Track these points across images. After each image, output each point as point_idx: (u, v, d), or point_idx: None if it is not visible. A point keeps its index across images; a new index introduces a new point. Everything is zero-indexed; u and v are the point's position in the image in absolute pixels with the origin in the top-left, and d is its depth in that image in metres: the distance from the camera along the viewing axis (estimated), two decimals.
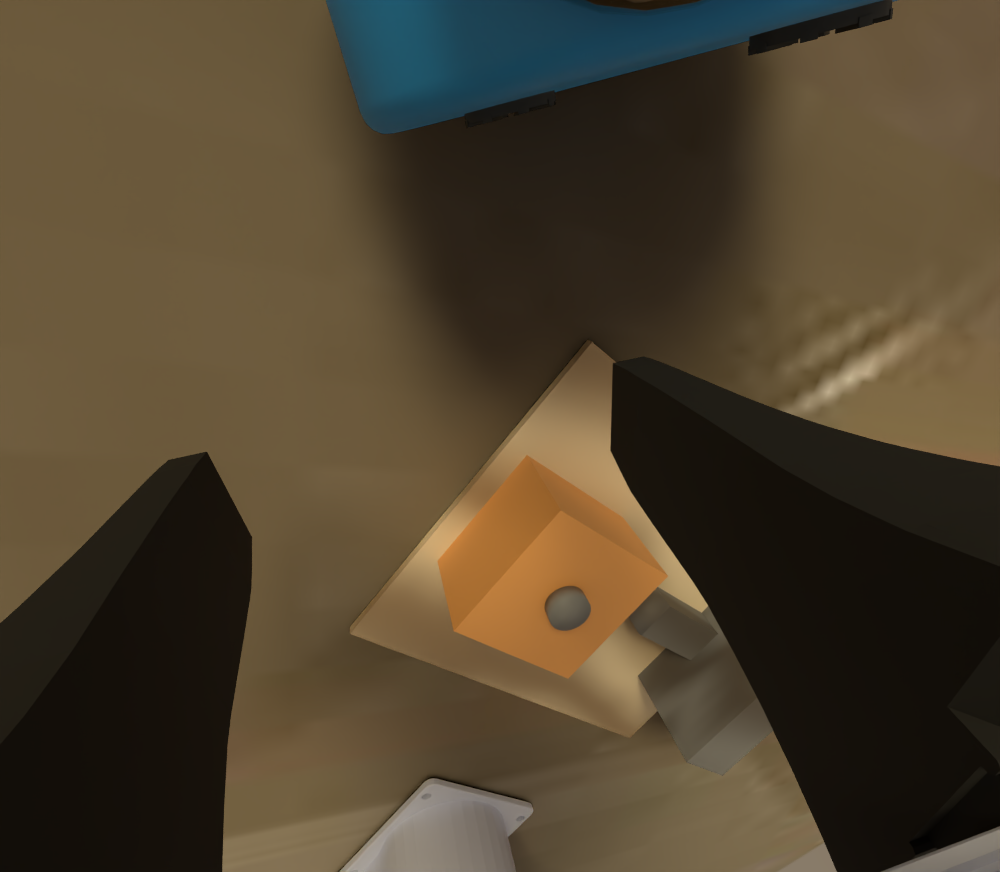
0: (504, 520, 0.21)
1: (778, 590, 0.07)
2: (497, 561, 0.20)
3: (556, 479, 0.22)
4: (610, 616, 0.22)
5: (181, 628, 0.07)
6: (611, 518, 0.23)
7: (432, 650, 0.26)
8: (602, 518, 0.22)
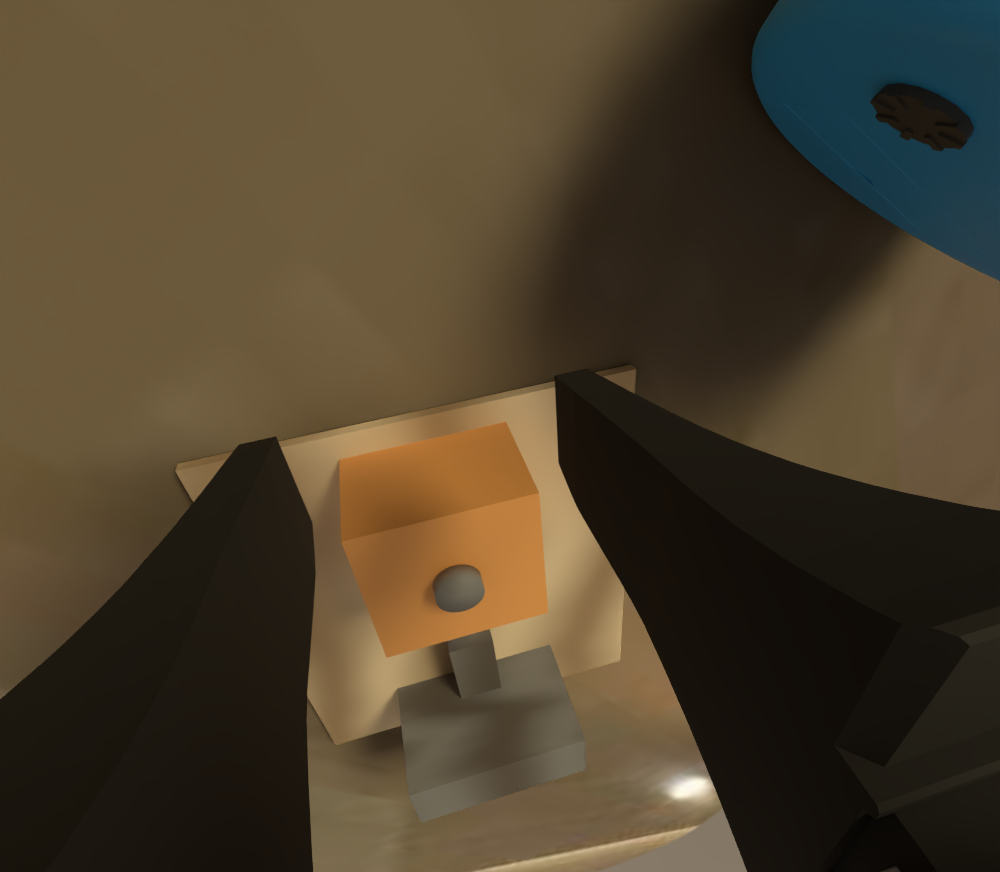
0: (456, 466, 0.18)
1: (697, 614, 0.07)
2: (433, 500, 0.17)
3: None
4: (475, 619, 0.20)
5: (268, 605, 0.07)
6: None
7: None
8: None
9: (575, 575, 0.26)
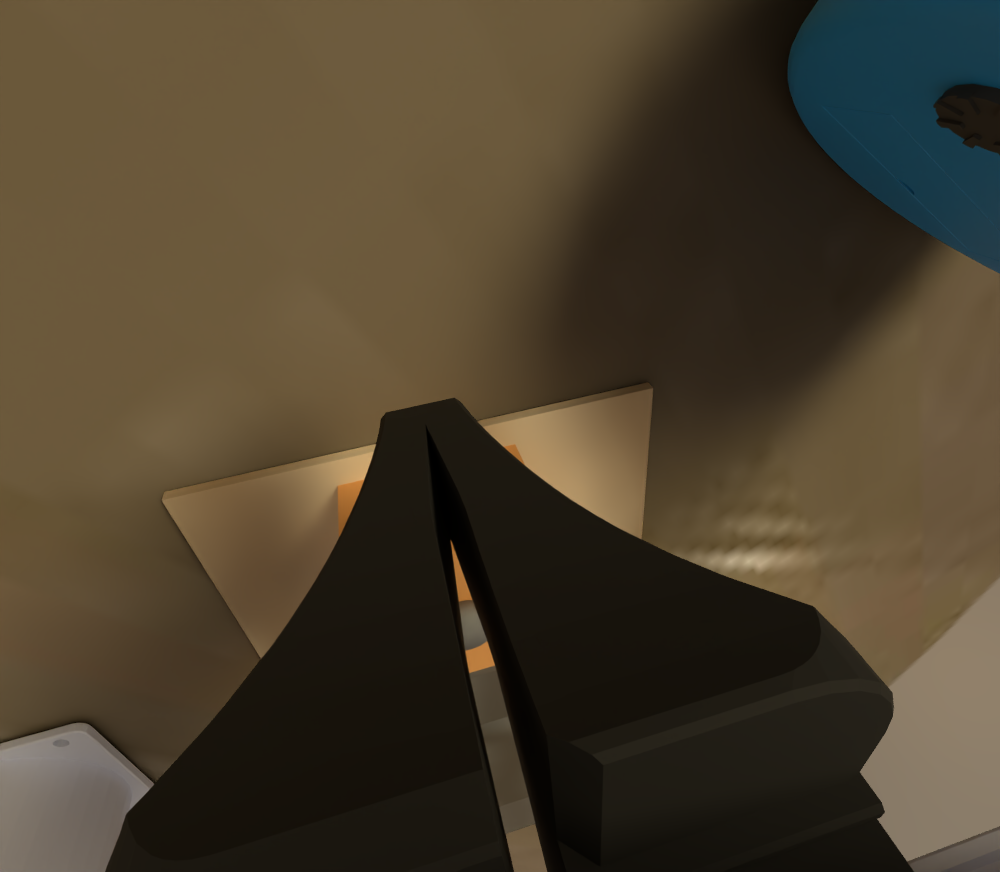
0: None
1: (503, 670, 0.06)
2: None
3: None
4: (483, 655, 0.19)
5: (445, 559, 0.08)
6: None
7: (236, 578, 0.19)
8: None
9: None
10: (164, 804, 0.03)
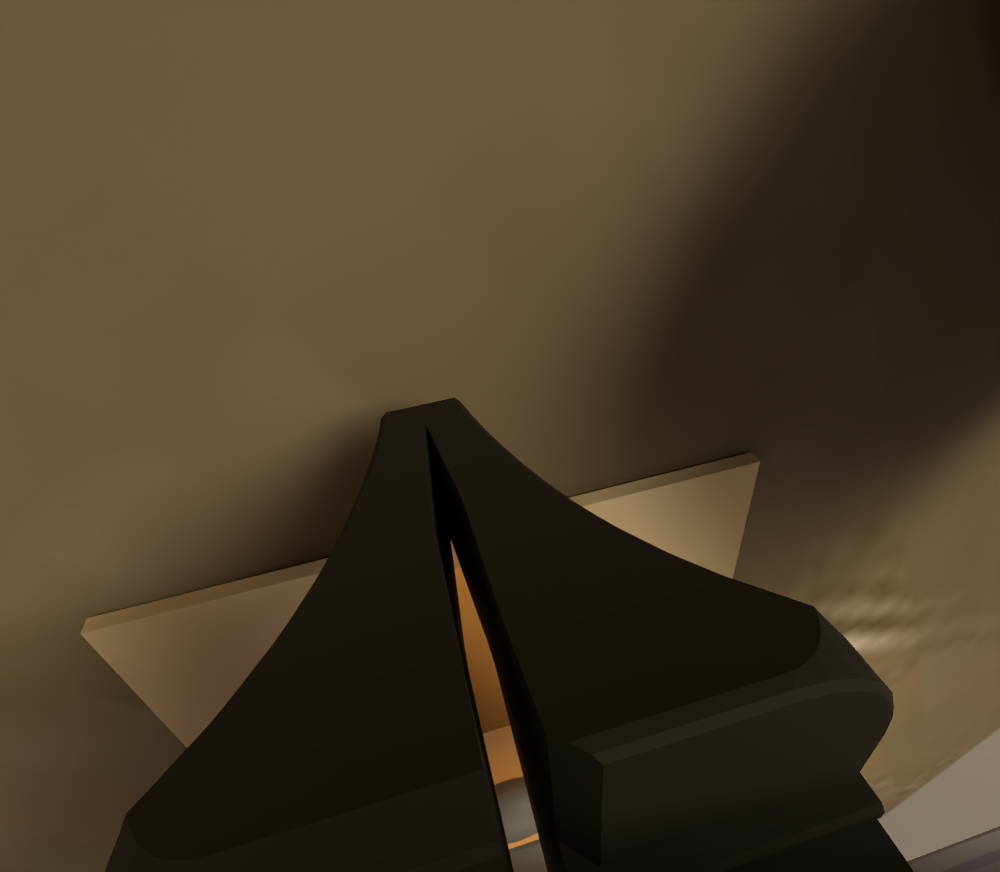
0: None
1: (503, 671, 0.06)
2: (478, 692, 0.11)
3: None
4: None
5: (445, 559, 0.08)
6: None
7: (194, 715, 0.14)
8: None
9: None
10: (163, 803, 0.03)
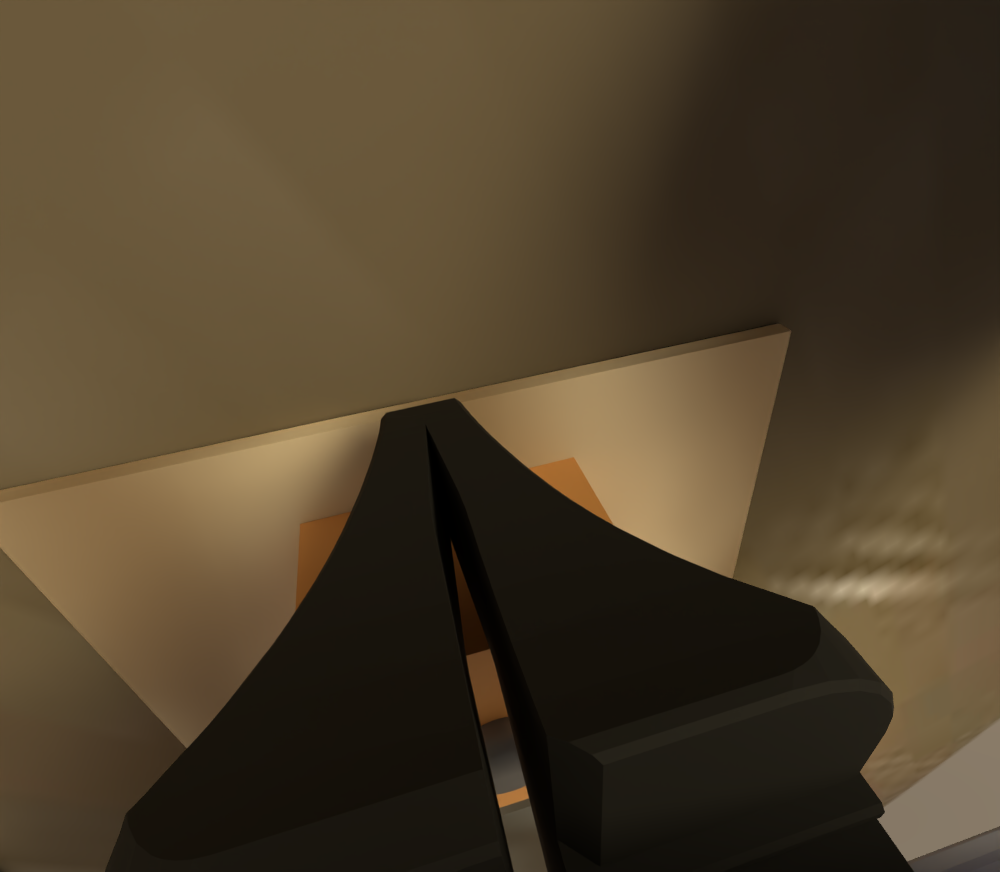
0: None
1: (503, 670, 0.06)
2: (463, 613, 0.09)
3: None
4: None
5: (445, 559, 0.08)
6: None
7: (123, 632, 0.12)
8: None
9: None
10: (163, 803, 0.03)
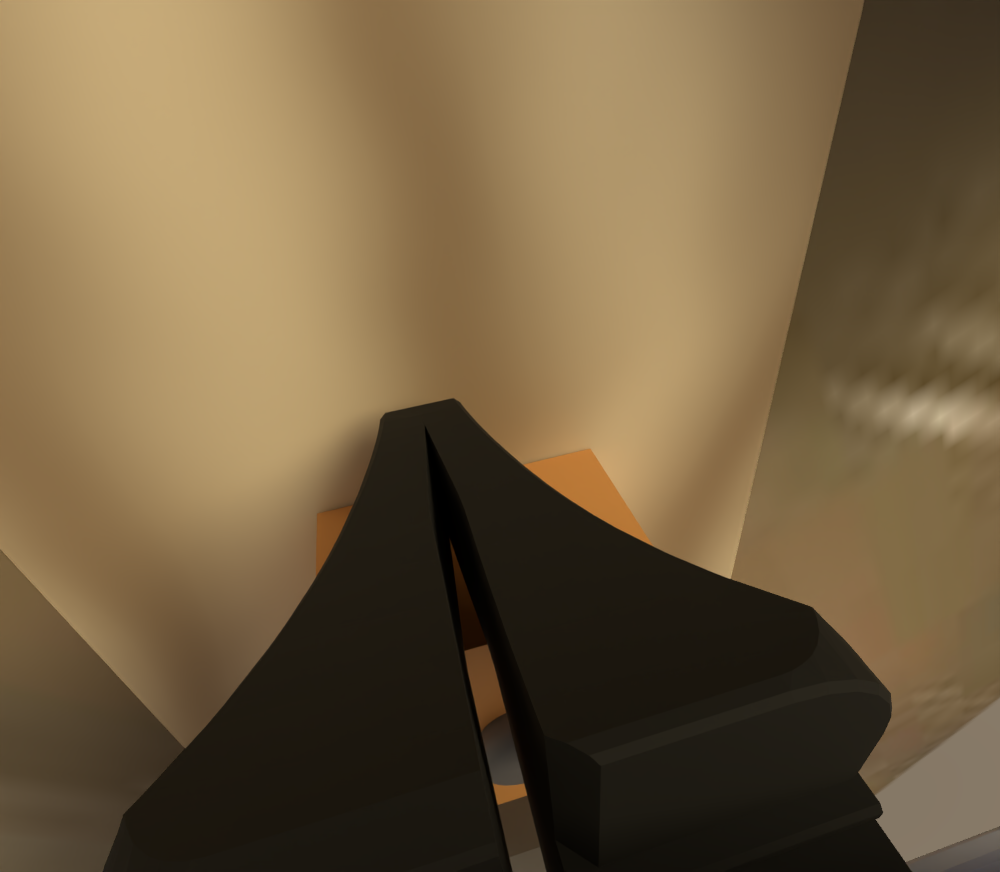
0: None
1: (502, 671, 0.06)
2: None
3: None
4: None
5: (444, 560, 0.08)
6: None
7: None
8: None
9: (668, 464, 0.13)
10: (161, 804, 0.03)
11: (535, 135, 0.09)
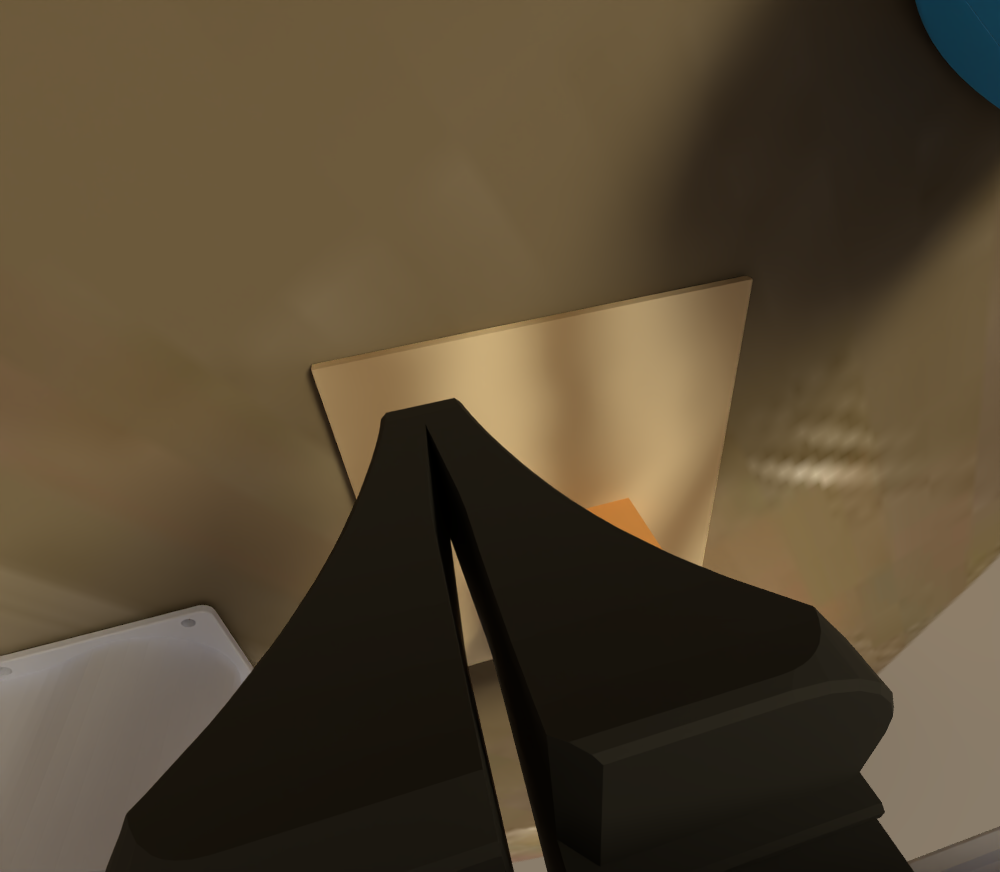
0: None
1: (503, 670, 0.06)
2: None
3: None
4: None
5: (445, 560, 0.08)
6: None
7: (363, 457, 0.21)
8: None
9: (666, 504, 0.26)
10: (162, 806, 0.03)
11: (613, 383, 0.22)
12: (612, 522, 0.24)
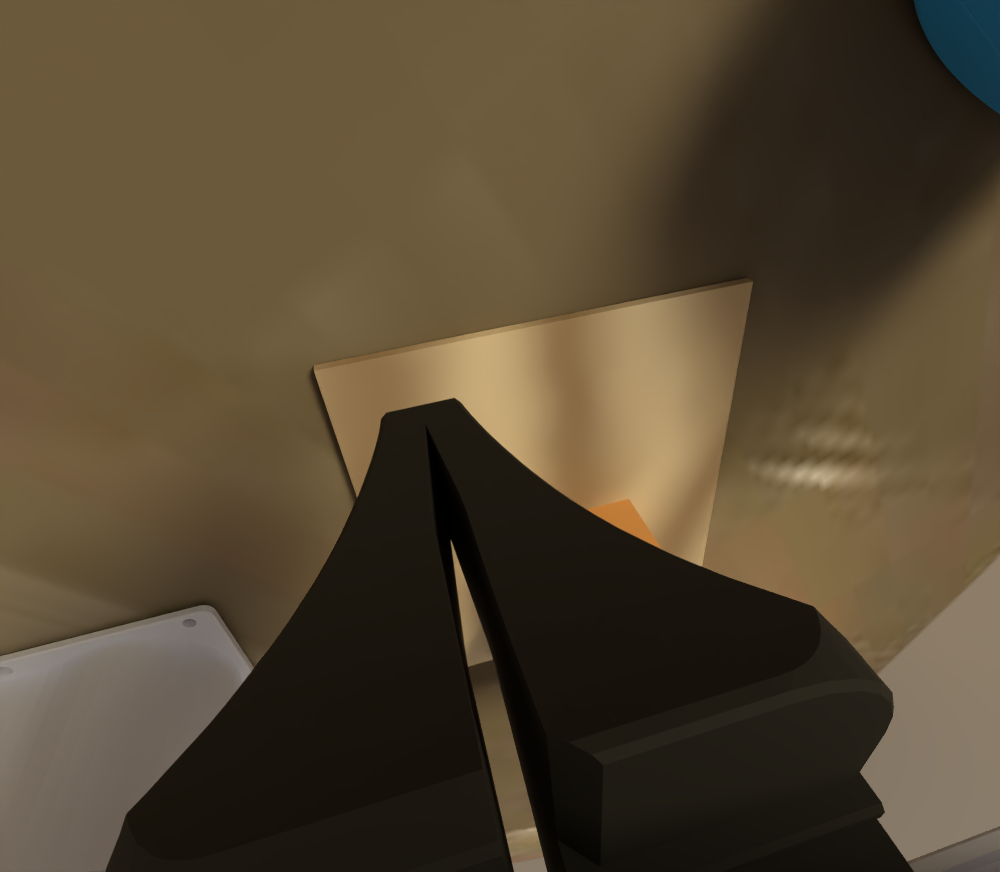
0: None
1: (503, 670, 0.06)
2: None
3: None
4: None
5: (445, 559, 0.08)
6: None
7: (364, 458, 0.21)
8: None
9: (666, 505, 0.26)
10: (162, 806, 0.03)
11: (614, 385, 0.22)
12: (612, 523, 0.24)
